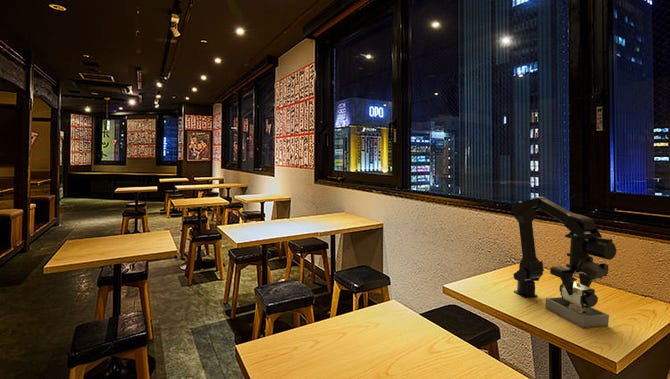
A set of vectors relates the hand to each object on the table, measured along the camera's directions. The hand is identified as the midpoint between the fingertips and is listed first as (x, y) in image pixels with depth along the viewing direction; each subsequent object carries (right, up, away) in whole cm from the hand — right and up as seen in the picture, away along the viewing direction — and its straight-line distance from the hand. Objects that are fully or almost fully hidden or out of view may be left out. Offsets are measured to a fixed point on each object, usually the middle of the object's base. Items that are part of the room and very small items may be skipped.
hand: (576, 294), depth 123 cm
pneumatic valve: (0, -8, +1) cm, 8 cm away
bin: (0, -8, +1) cm, 8 cm away
